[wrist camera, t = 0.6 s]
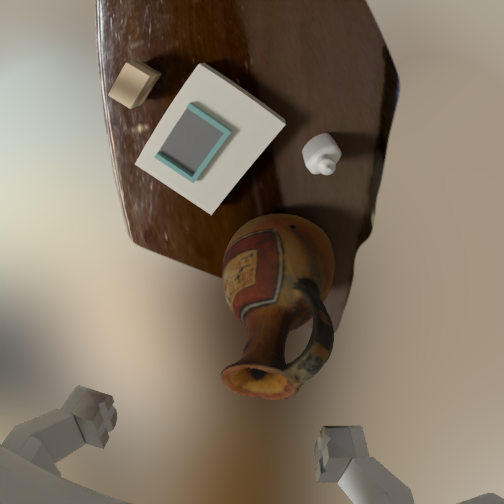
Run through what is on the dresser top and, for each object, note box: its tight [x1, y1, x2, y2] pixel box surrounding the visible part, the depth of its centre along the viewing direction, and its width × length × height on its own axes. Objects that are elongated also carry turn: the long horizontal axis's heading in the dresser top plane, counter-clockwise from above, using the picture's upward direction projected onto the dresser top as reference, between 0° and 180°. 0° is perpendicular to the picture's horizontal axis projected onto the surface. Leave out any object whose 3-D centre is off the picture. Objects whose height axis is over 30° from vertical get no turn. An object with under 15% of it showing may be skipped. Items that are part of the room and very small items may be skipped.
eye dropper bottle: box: [302, 133, 341, 175], centre depth 45 cm, size 4×6×12 cm
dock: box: [135, 63, 286, 215], centre depth 48 cm, size 20×16×5 cm
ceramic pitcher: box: [221, 213, 335, 400], centre depth 50 cm, size 20×20×30 cm
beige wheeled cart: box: [108, 61, 161, 109], centre depth 42 cm, size 6×5×7 cm
